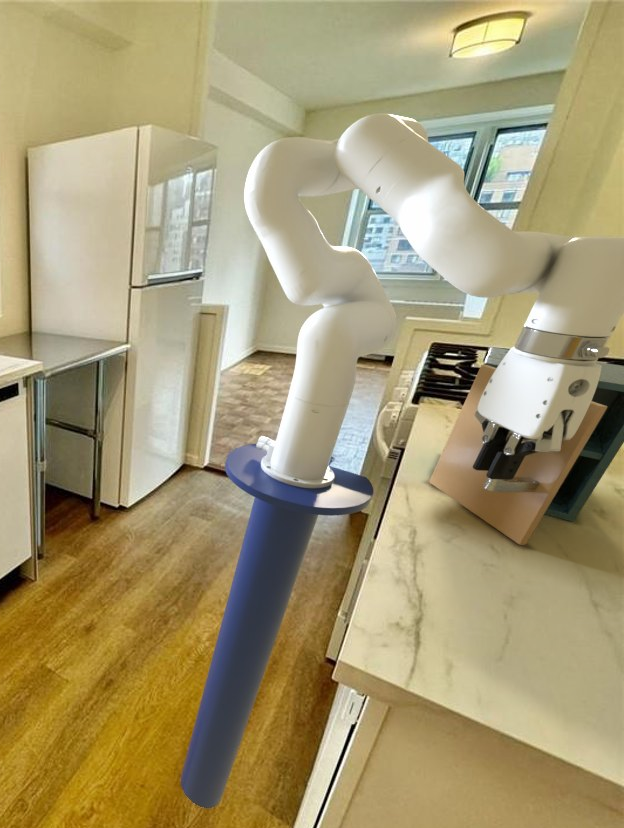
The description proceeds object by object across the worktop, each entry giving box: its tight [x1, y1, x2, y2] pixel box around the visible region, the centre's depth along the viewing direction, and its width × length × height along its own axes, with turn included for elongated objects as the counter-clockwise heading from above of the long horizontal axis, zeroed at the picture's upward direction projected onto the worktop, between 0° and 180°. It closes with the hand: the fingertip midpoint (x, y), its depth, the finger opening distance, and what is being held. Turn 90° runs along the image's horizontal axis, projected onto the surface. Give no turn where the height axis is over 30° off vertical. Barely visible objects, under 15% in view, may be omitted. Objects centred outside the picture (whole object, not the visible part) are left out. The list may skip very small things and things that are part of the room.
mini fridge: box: [482, 346, 624, 523], centre depth 81 cm, size 14×18×22 cm
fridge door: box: [428, 364, 607, 546], centre depth 74 cm, size 7×18×22 cm, turn 179°
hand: (492, 473), depth 68 cm, fingers closed on fridge door
